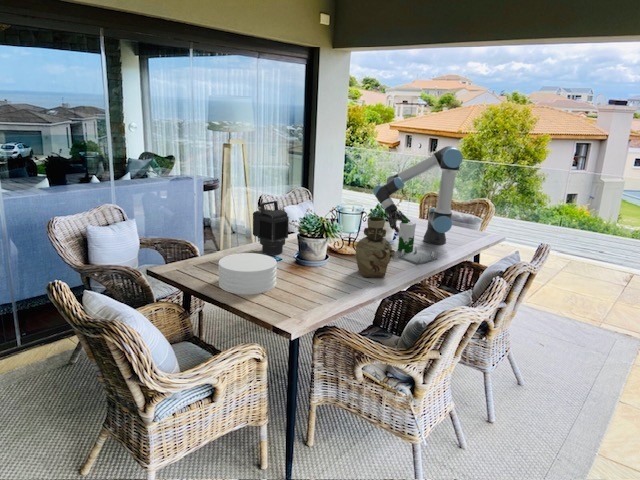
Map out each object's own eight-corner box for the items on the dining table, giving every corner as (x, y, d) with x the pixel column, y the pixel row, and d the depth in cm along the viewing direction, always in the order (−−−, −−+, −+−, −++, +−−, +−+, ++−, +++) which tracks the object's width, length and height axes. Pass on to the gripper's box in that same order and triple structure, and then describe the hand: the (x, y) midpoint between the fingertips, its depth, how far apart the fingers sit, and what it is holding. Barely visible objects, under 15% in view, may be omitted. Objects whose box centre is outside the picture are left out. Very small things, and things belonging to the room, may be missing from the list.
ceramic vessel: (384, 282, 247) (389, 226, 239) (348, 274, 257) (351, 219, 248) (397, 272, 263) (403, 219, 255) (363, 264, 273) (366, 213, 264)
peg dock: (416, 252, 300) (416, 245, 299) (437, 259, 289) (438, 251, 287) (397, 257, 289) (398, 249, 287) (418, 264, 277) (419, 256, 276)
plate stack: (249, 270, 256) (249, 249, 252) (287, 284, 239) (288, 262, 236) (207, 283, 235) (206, 261, 231) (245, 299, 218) (245, 275, 215)
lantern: (273, 257, 278) (274, 206, 270) (251, 250, 288) (251, 201, 280) (290, 251, 290) (291, 203, 281) (268, 245, 300) (269, 198, 292)
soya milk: (402, 247, 310) (405, 217, 304) (414, 250, 305) (418, 220, 299) (395, 250, 303) (398, 219, 298) (408, 253, 298) (411, 222, 292)
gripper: (396, 207, 317) (413, 234, 312) (374, 212, 299) (392, 241, 294) (403, 201, 312) (421, 228, 307) (382, 205, 294) (400, 234, 289)
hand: (407, 234), depth 300 cm, fingers open, 13 cm apart
